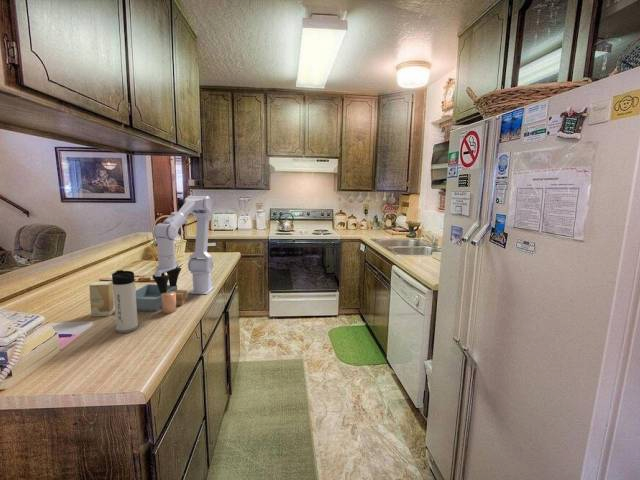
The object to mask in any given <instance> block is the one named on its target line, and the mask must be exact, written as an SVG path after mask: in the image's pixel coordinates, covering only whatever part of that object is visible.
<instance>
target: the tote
mask: <svg viewBox="0 0 640 480" xmlns="http://www.w3.org/2000/svg"><path fill="white" fill-rule="evenodd" d="M174 290H178V285H177V284H176V286H170V284H167V292H173V291H174ZM135 291H136V305H137V312H156V311H157V312H158V311H160V310H161V309H162V294H163V293H160V291H159V288H158V285H157V283H156V284H154V283H152V284H151V283H147V284H145V285H143V286H141V287H140V288H138V289H135ZM159 309H160V310H159Z"/></svg>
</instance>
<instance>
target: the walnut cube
mask: <svg viewBox="0 0 640 480" xmlns="http://www.w3.org/2000/svg"><path fill="white" fill-rule="evenodd" d="M173 292H175V293H176V305H181V307H182V305H183V306H184V305H185V304H186V303H187V302H188V300H189V298H188V289H187V290H186V289H177V290H174V291H173Z"/></svg>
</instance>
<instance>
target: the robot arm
mask: <svg viewBox="0 0 640 480" xmlns="http://www.w3.org/2000/svg"><path fill="white" fill-rule="evenodd" d="M212 213H213V200H212V199H211V198H210V196H209V195H207V196H206V195H205V196H199V195H188V196H187V197H185V198H184V203H183V205H182V206H181V207H180V208H179V210H178V211H174V212H173V211H172V212H171V213H170V215H169V216H167V218H166V219H165V220H164V221H163V222H162V223H157V224H155V226H154V228H153V231H152V234H153V237H154V239H155V243H156V244H157V259H158V265H156V266H155V268H156V270H154V274H152V279H153V280H154V282H155V283H156V284H157V285H158V288H159V291H160V293H166V292H167V285H170V286H176V285H177V284H178V279H179V276H180V273H181V271H182V267H179V266H180V265H179V264H180V263H179V261H176V249H175V238H177V236H178V233H179V231H180V228H181V227H183V225H184V224H185V223H186V218H187V217H188V216H190V214H193V215H194V216H195V217H196V220H197V221H196V232H195V245H194V246H195V248H194V252H193V253H191V254H190V255H189V258H188V262H187V269H188V271H189V272H190V274H192V275H191V276H192V290H191V291H190V292H189V294H193V295H207V294H209V293H210V292H211V291H212V290H213V289H215V288H214V286H213V279H212V273H211V272H212V271H213V268H214V262H213V261H214V260H213V256H212V254H210V253H209V252H208V243H209V229H210V228H209V227H210V216H211V215H212ZM168 283H169V284H168Z"/></svg>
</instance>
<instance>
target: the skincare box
mask: <svg viewBox="0 0 640 480" xmlns="http://www.w3.org/2000/svg"><path fill="white" fill-rule="evenodd" d="M112 283H113V281H111V280H109V281H104V280H102V281H93V282H92V283H90V284H89V285H88V286H89V301H90V317H104V316H105V317H107V316H108V317H109V316H111V315H112V314H113V313H115V308H114V296H113V284H112Z"/></svg>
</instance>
